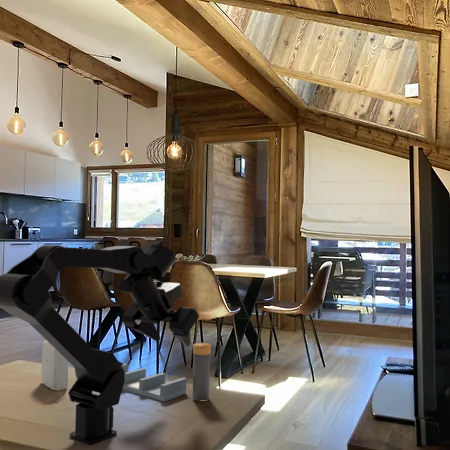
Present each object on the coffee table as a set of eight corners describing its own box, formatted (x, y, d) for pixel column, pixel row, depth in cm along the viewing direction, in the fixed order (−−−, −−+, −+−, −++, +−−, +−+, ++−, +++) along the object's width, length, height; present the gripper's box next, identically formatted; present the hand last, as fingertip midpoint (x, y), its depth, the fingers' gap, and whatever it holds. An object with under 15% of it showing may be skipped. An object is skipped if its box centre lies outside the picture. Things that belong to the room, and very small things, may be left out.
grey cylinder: (202, 403, 111) (203, 347, 111) (188, 399, 113) (189, 344, 114) (213, 399, 114) (214, 344, 115) (199, 395, 116) (200, 342, 117)
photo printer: (39, 382, 125) (40, 335, 125) (55, 380, 127) (56, 333, 128) (52, 392, 117) (54, 341, 117) (69, 389, 120) (71, 340, 120)
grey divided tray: (163, 401, 111) (164, 385, 111) (101, 383, 125) (101, 369, 125) (186, 393, 118) (186, 378, 118) (124, 377, 131) (124, 363, 131)
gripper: (197, 271, 104) (221, 321, 111) (135, 268, 114) (161, 314, 121) (171, 307, 96) (199, 358, 104) (107, 300, 106) (137, 347, 114)
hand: (173, 342), depth 111 cm, fingers open, 9 cm apart
